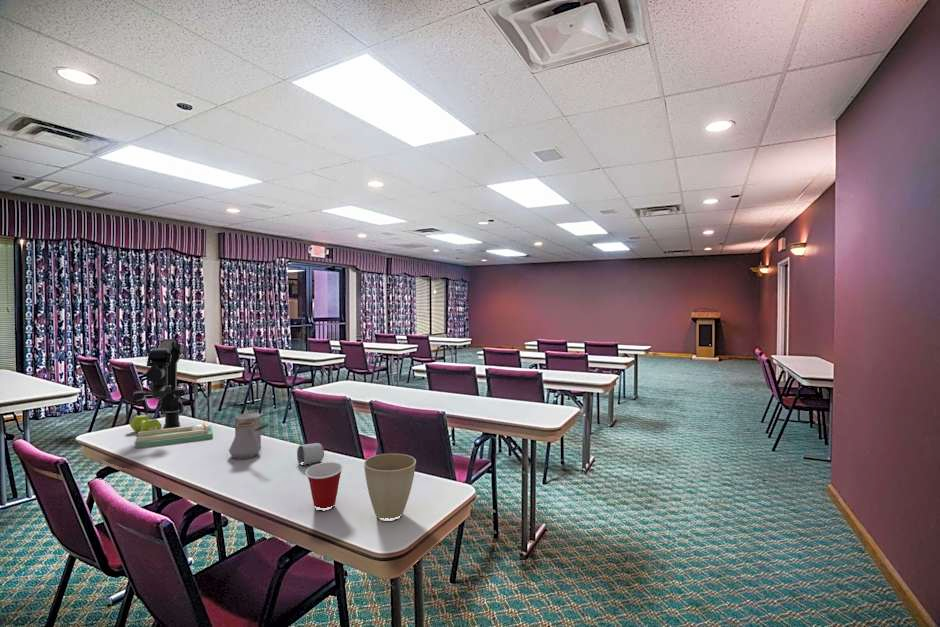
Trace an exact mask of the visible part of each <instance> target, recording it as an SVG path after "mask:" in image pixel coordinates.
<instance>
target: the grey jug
mask: <svg viewBox="0 0 940 627" xmlns="http://www.w3.org/2000/svg"><path fill="white" fill-rule="evenodd" d="M234 419H235V422H234V428H235V433H234V435H235V436H236V434H237V431H238V427H237V426H236V425H237V424H238V423H242V422H253V423H254V425H253V427H252V429H253V430H255V429H257V428H258V427H260V426H262V424H261V413H259V412H245V413H240V414H239V413H238V414H237V415H235V417H234ZM261 430H262V429H261ZM261 430H258V431H255V432H254V433H255V435H256V437H257V439H258V441H259V443H260V445H261V446H262V443H261V442H262V440H261V438H262V434H261ZM235 436H234V437H235Z"/></svg>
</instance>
